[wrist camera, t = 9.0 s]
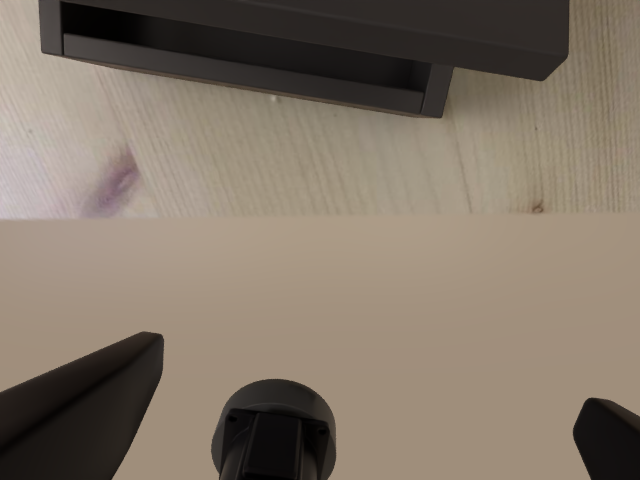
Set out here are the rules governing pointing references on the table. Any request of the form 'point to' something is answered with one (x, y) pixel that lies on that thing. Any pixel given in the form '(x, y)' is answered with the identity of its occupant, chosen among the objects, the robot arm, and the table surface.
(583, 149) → the table surface
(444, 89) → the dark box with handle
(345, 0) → the lid
